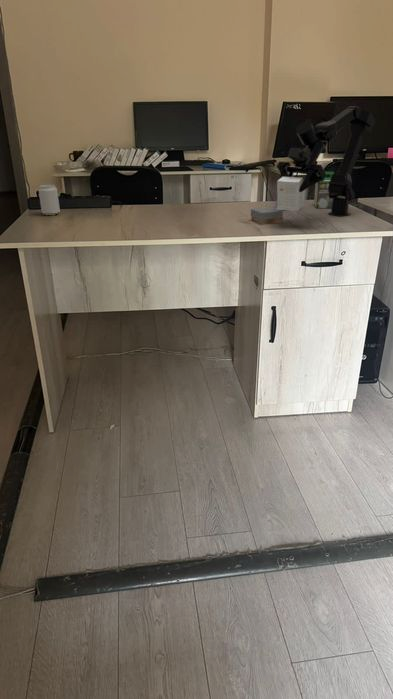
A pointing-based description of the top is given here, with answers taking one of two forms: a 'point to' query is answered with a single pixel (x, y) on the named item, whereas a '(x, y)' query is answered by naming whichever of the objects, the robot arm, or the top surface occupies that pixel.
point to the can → (49, 199)
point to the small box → (289, 193)
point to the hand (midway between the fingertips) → (289, 190)
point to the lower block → (267, 220)
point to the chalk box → (323, 193)
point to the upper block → (266, 213)
